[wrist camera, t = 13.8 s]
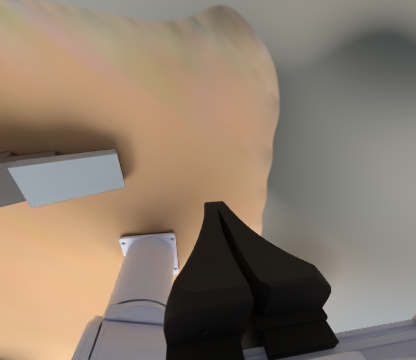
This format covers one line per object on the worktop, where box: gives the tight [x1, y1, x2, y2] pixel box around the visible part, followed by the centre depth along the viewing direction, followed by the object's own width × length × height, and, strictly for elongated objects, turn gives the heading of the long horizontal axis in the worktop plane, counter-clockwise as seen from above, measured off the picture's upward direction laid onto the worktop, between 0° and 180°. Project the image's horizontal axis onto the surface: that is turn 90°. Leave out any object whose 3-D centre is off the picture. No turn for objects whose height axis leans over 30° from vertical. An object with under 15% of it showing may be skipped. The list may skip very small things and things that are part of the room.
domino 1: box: [0, 151, 57, 207], centre depth 16 cm, size 2×4×8 cm
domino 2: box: [8, 149, 125, 208], centre depth 17 cm, size 2×4×8 cm
